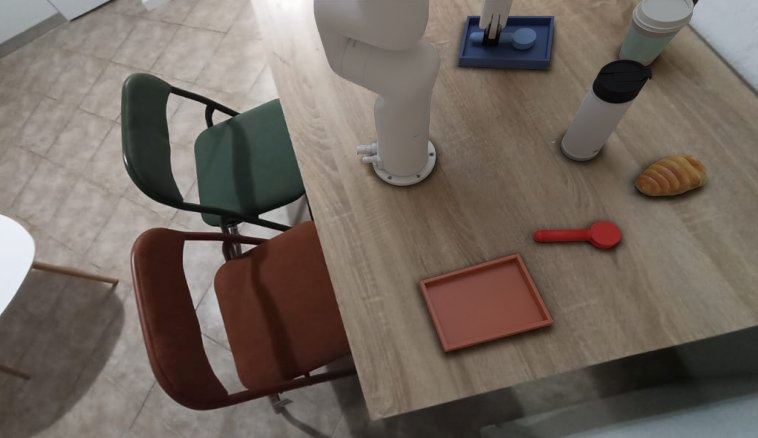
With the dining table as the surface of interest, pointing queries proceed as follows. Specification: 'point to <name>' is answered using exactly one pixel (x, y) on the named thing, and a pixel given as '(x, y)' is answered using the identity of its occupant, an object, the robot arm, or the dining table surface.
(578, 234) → the red spoon
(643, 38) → the coffee cup
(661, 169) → the pastry
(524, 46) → the blue spoon
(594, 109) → the travel mug
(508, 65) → the back tray
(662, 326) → the dining table surface
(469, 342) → the front tray
